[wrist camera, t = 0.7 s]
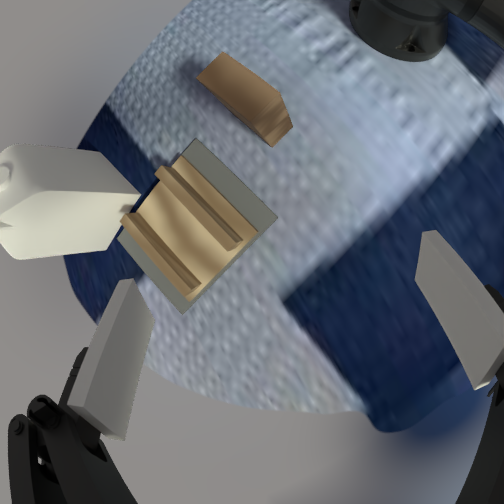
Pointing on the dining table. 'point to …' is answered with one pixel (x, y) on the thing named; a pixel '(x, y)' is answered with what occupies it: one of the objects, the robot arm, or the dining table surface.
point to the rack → (188, 227)
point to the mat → (233, 193)
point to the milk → (59, 201)
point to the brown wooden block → (247, 97)
